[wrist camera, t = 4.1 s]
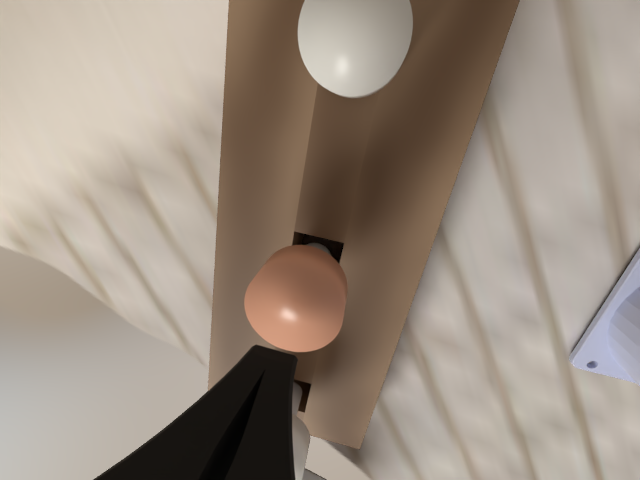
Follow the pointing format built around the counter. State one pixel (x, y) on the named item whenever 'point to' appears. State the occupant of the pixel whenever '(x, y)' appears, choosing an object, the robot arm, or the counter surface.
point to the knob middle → (298, 298)
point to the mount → (343, 185)
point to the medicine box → (311, 476)
